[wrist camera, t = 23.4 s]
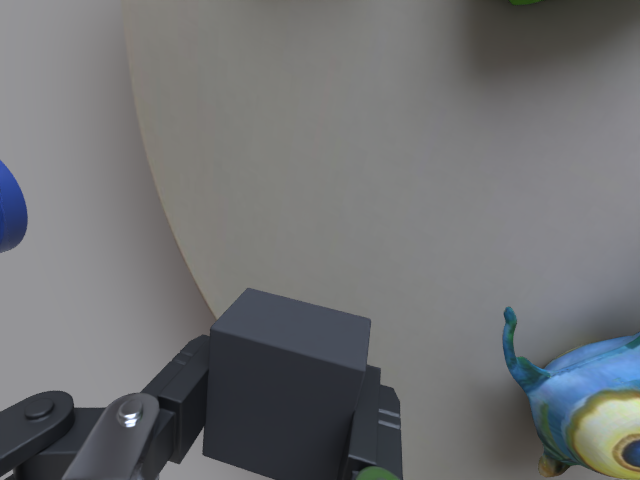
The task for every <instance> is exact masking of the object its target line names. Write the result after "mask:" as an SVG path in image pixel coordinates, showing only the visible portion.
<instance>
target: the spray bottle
mask: <svg viewBox="0 0 640 480" xmlns="http://www.w3.org/2000/svg"><path fill="white" fill-rule="evenodd" d="M509 1H510V2H511V3H512V4H513V5H526V4H531V3H535V2H540V1H544V0H509Z"/></svg>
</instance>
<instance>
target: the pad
mask: <svg viewBox="0 0 640 480" xmlns="http://www.w3.org/2000/svg"><path fill="white" fill-rule="evenodd" d="M370 327H371V320H370V319H369V318H365V317H361V316H357V315H353V314H349V313H345V312H341V311H337V310H333V309H329V308H326V307H322V306H318V305H314V304H310V303H306V302H302V301H298V300H294V299H290V298H286V297H282V296H278V295H275V294H271V293H267V292H263V291H259V290H255V289H251V288H247V289H246V290H245V291H244V292H243V293H242V294H241V296H240V297H239V298H238V299H237V300H236V301H235V302H234V303H233V304H232V305H231V306H230V307H229V308H228V309H227V310H226V311H225V313H224V314H223V315H222V316H221V317H220V318H219V319H218V320H217V321H216V322H215V323H214V324H213V325H212V327H211V329H210V342H209V358H208V368H209V374H208V389H207V405H206V420H205V425H204V439H203V455H204V456H207V457H209V458H212V459H215V460H218V461H221V462H224V463H227V464H230V465H234V466H236V467H239V468H242V469H245V470H248V471H251V472H254V473H257V474H260V475H263V476H266V477H269V478H272V479H275V480H337V479H338V472H339V466H340V462H341V459H342V455H343V451H344V447H345V443H346V439H347V436H348V432H349V428H350V424H351V420H352V416H353V413H354V411H355V410H356V407H357V403H358V399H359V395H360V392H361V388H362V384H363V380H364V376H365V373H366V365H367V356H368V346H369V336H370Z"/></svg>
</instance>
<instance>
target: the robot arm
mask: <svg viewBox="0 0 640 480" xmlns="http://www.w3.org/2000/svg"><path fill="white" fill-rule="evenodd" d="M209 342H210V336H207V335H201V336H199V337H197V338H196V339H193V340H192V341H190V342H189V343H188V344H187V345H186V346H185V347H184V348H183V349H182V350H181V351H180V353H178V354H177V355H176V356H175V357H174V358H173V360H172V361H171V362H169V363H168V364H167V365H166V366H165V367H164V368H163V369H162V371H161V372H160V373H159V374H158V375H157V376H156V377H155V378H154V379H153V380H152V381H151V382H150V383H149V384H148V385H147V386H146V387H145V388H144V389H143V390H142V391H141V392H140V393H132V394H128V395H125V396H122V397H120V398H118V399H116V400H115V401H113V402H112V403H111V404H109V405H108V406H107V407H106V408H74V403H73V398H72V397H71V395H69V394H68V393H66V392H63V391H47V392H42V393H39V394H36V395H33V396H31V397H28V398H26V399H24V400H23V401H20V402H19V403H17V404H15V405H13V406H11V407H9V408H7V409H5V410H3V411H1V412H0V477H1V476H3V475H4V474H6V473H7V472H9V471H11V470H12V469H13V473H14V474H12V475H11V476H9V477H8V478H6V479H5V480H159V473H160V472H161V470H162V469H163V467H164V466H165V464H166V463H167V461H171V462H174V463H177V464H180V463H181V461H182V460H183V458H184V457H185V455H186V453H187V452H188V451H189V449H190V447H191V446H192V444H193V443H194V441H195V440H196V438H197V436H198V435H199V433H200V432H201V430H202V428H203V427H204V425H205V420H206V405H207V389H208V374H209V368H208V358H209ZM380 374H381V369H380V368H378V367H374V366H370V365H366V373H365V376H364V380H363V384H362V388H361V392H360V395H359V399H358V403H357V407H356V410H355V411H354V413H353V416H352V420H351V424H350V428H349V432H348V436H347V439H346V443H345V447H344V451H343V455H342V459H341V462H340V466H339V472H338V479H337V480H403V474H402V447H401V430H400V428H401V420H400V401H399V399H398V397H397V395H396V393H395V391H394V389H393V388H391V387H387V386H384V385H380Z"/></svg>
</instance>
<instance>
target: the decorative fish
mask: <svg viewBox="0 0 640 480" xmlns="http://www.w3.org/2000/svg"><path fill="white" fill-rule="evenodd" d="M504 317H505V320H506V323H505V326H504V330H503V349H504V355H505V360H506V363H507V367H508V369H509V371H510V373H511V375H512V376H513V378H514V379H515V380H516V382H517V383H518V384H519V385H520V386H521V387H522V389H523V390H524V392H525V393H526V395H527V396H528V399H529V401H530V406H531V412H532V417H533V420H534V424H535V427H536V430H537V433H538V436H539V438H540V440H541V441H542V443H543V446H544V453H543V455H542V456H541V458H540V460H539V463H538V471H539V473H540V475H542V476H544V477H554V476H559V475H561V474H563V473H564V472H565V471H566V470H567V469H568V468H569V467H570V466H573V465H582V466H584V467H586V468H588V469H590V470H593V471H595V472H597V473H600V474H603V475H606V476H610V477H615V478H620V479H629V480H640V332H638V333H637V334H635V335H633V336H624V337H619V338H614V339H609V340H605V341H600V342H595V343H590V344H586V345H582V346H579V347H576V348H573V349H571V350H569V351H567V352H565V353H563V354H561V355H559V356H558V357H556V358H555V359H553V360H552V361H551V362H550V363H549V364H548V365H547V366H546V367H545V368H544V369H540V368H539V367H537V366H535V365H534V364H532V363H531V362H530V361H528V360H527V359H526V358H524V357H516V356H515V353H514V347H513V336H514V331H515V328H516V324H517V319H516V315H515V313H514V311H513V310H512V308H511V307H506V309H505V310H504Z"/></svg>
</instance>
